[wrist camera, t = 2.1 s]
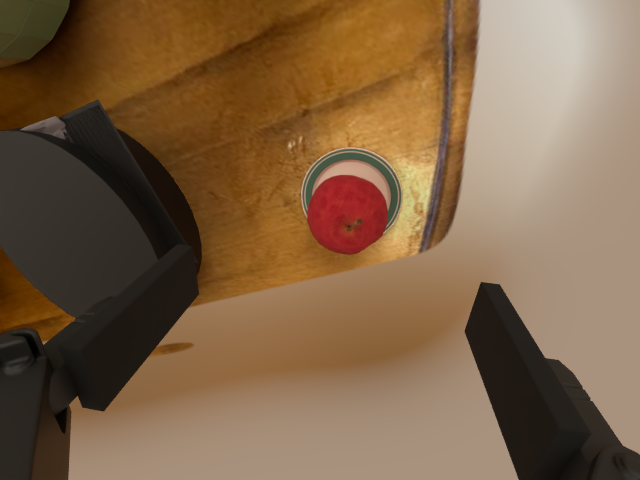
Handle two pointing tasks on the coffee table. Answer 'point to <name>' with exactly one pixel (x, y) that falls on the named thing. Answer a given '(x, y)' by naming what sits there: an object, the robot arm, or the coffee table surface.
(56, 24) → the bowl
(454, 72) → the coffee table surface
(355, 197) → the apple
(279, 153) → the coffee table surface
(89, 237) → the tape dispenser
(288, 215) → the coffee table surface
